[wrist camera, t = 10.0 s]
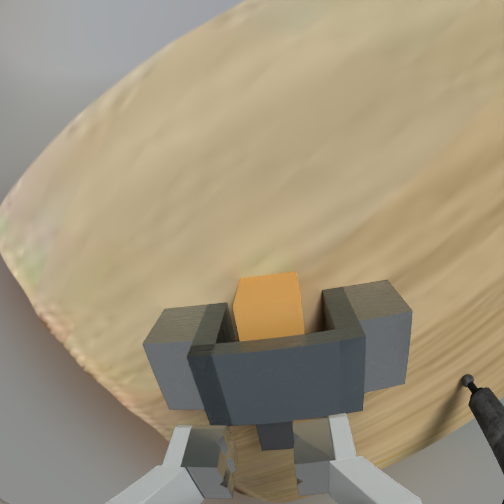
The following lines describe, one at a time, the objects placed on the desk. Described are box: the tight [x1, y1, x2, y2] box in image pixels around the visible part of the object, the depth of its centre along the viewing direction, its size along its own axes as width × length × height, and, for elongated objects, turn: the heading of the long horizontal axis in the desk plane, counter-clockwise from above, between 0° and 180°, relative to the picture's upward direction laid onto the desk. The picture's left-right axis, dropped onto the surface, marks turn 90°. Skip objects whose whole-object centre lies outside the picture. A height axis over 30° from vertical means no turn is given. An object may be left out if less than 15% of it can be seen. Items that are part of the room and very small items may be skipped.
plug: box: [233, 271, 305, 451], centre depth 23 cm, size 4×14×4 cm, turn 9°
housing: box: [143, 280, 412, 426], centre depth 21 cm, size 17×6×7 cm, turn 99°
